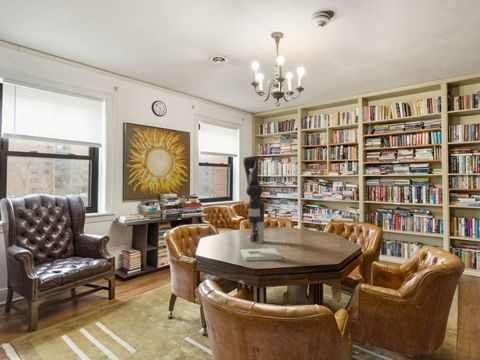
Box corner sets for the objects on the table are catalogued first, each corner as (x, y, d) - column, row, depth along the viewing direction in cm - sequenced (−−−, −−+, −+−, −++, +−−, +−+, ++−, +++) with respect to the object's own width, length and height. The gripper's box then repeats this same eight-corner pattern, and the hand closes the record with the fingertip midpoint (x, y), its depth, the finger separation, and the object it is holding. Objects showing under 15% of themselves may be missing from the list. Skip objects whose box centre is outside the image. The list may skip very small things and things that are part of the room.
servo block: (247, 241, 190) (247, 232, 190) (260, 241, 191) (260, 232, 191) (248, 242, 186) (248, 233, 186) (261, 242, 187) (261, 233, 187)
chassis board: (240, 252, 197) (240, 249, 197) (273, 251, 201) (273, 247, 201) (245, 260, 178) (245, 256, 178) (281, 259, 181) (281, 255, 181)
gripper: (247, 214, 195) (247, 238, 195) (250, 216, 181) (250, 243, 181) (257, 213, 196) (257, 238, 196) (262, 216, 182) (262, 242, 182)
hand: (254, 240), depth 189 cm, fingers closed on servo block, 4 cm apart
